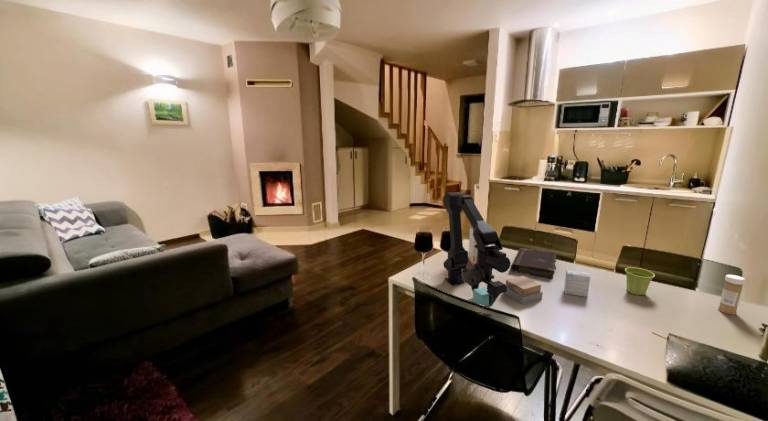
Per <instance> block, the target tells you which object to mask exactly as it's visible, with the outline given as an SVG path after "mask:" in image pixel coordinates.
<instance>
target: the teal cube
mask: <svg viewBox="0 0 768 421" xmlns="http://www.w3.org/2000/svg"><path fill="white" fill-rule="evenodd" d="M486 291H488V290H487V287H485V286H482V287H478V289H473V291H472V302H474V303H475V304H476V303H478V304H481V305H484V307H487V306H489V294H488V293H487V292H486ZM478 304H477V305H478Z"/></svg>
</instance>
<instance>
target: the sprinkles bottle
mask: <svg viewBox="0 0 768 421" xmlns="http://www.w3.org/2000/svg"><path fill="white" fill-rule="evenodd" d="M745 282H746V278H744V277H742V276H740V275H736V274H726V275H725V278H724V285H723V288H722V291H721V292H722V293H721V296H720V300H719V301H720V302H719V306H718V308H717V309H718V310H719V311H720V312H722V313H724V314H728V315H734V316H735V315H736V314H738V313H737V309H738V307H739V303H740V300H741V294H742V291H743V286H744V284H745Z"/></svg>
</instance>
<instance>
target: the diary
mask: <svg viewBox="0 0 768 421" xmlns="http://www.w3.org/2000/svg"><path fill="white" fill-rule="evenodd" d="M556 258H557V252H556V251H549V250H542V249H537V248H536V249H534V248H525V247H524V248H523V247H520V248H519V249H518V251H517V253H516V256H515V257H514V259H513V261H512V263H511V264H510V272H511V273H512V271H513V272H514V270H515V273H516V272H517V273H520V272H521V274H525V273H526V274H525V275H528V276H532V277H538V278H543V279H549V280H550V279H554V274H555V271H557V267H556V262H557V260H556ZM513 269H514V270H513ZM517 270H518V271H517Z"/></svg>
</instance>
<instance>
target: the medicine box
mask: <svg viewBox="0 0 768 421" xmlns="http://www.w3.org/2000/svg"><path fill="white" fill-rule="evenodd" d="M564 279H565V280H564V286H563V287H564V288H563V290H564V294H567V295H573V296H579V297H586V298H588V296H589V288H590V281H591V277H590V274H589V273H588V272H582V271H576V270H568V269H567V270H565V278H564Z"/></svg>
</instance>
